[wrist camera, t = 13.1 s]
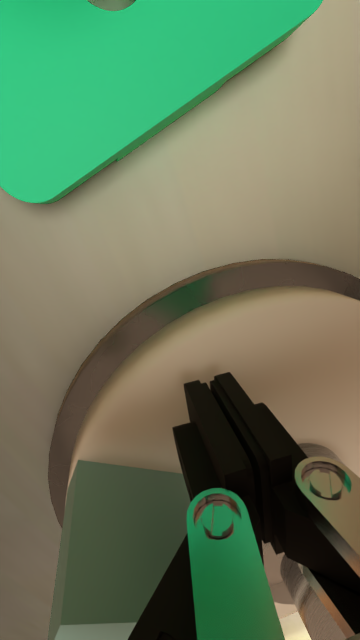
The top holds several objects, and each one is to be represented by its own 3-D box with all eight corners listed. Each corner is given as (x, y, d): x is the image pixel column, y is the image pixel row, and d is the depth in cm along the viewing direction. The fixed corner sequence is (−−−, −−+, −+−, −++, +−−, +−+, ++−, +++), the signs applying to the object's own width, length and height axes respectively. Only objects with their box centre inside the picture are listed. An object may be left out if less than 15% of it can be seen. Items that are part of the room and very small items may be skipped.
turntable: (153, 215, 12) (223, 222, 5) (472, 348, 18) (695, 433, 11) (23, 587, 16) (-35, 858, 9) (313, 587, 23) (403, 749, 16)
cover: (263, 433, 13) (357, 567, 8) (362, 452, 15) (488, 571, 10) (209, 536, 15) (263, 704, 10) (307, 542, 17) (393, 684, 12)
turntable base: (430, 222, 16) (450, 222, 15) (389, 513, 24) (401, 525, 23) (-19, 315, 13) (-29, 323, 12) (109, 618, 21) (109, 637, 20)
